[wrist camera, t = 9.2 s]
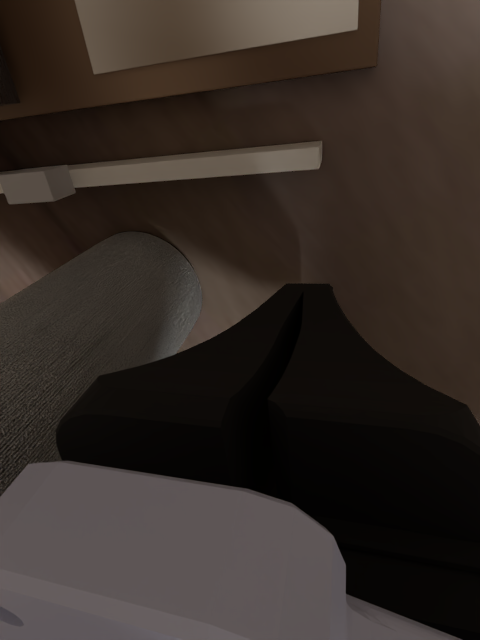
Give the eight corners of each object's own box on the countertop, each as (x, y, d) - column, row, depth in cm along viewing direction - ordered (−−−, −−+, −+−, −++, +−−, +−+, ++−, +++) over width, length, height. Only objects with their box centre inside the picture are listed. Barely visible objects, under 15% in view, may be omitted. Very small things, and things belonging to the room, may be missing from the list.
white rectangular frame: (321, 130, 10) (312, 145, 7) (322, 397, 15) (316, 462, 12) (-125, 176, 14) (-226, 195, 12) (-13, 369, 19) (-68, 412, 17)
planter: (71, 248, 14) (-359, 496, 5) (171, 213, 12) (-230, 497, 4) (127, 345, 16) (-126, 640, 7) (221, 327, 14) (31, 685, 6)
